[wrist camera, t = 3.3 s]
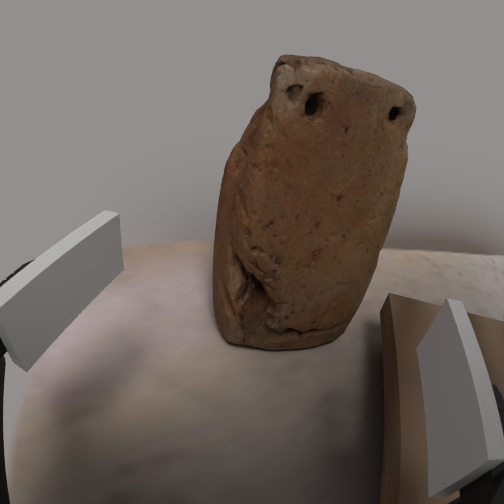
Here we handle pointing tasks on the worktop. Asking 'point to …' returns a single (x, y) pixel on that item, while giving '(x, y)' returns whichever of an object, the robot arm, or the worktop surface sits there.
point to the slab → (418, 394)
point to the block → (308, 203)
